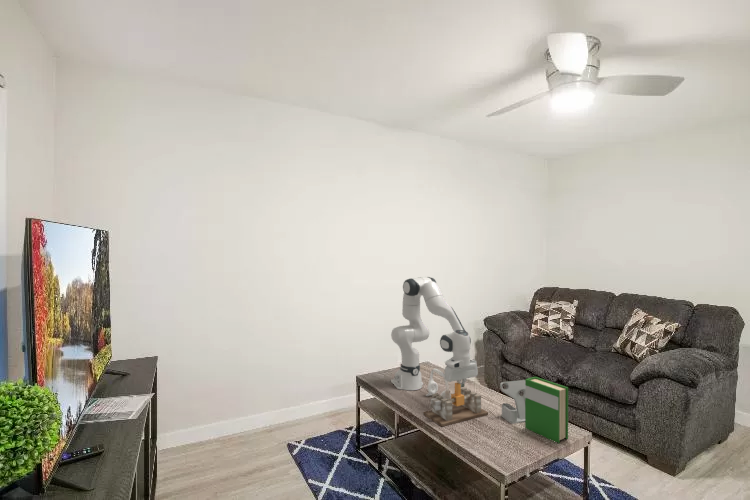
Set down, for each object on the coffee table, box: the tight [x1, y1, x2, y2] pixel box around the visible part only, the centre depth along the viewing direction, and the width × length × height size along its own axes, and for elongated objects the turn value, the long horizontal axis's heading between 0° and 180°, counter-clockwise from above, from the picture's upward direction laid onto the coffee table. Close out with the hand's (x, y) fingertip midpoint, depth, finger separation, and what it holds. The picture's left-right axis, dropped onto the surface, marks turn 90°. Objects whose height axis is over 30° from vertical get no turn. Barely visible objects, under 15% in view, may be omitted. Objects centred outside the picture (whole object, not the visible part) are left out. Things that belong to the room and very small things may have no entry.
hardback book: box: [524, 376, 569, 444], centre depth 185 cm, size 18×7×24 cm, turn 31°
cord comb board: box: [423, 387, 489, 428], centre depth 206 cm, size 16×30×10 cm, turn 117°
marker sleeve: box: [450, 382, 464, 406], centre depth 207 cm, size 5×5×11 cm
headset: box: [425, 368, 452, 399], centre depth 224 cm, size 20×7×18 cm, turn 20°
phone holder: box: [499, 379, 525, 424], centre depth 203 cm, size 17×10×18 cm, turn 104°
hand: (461, 387), depth 208 cm, fingers closed
